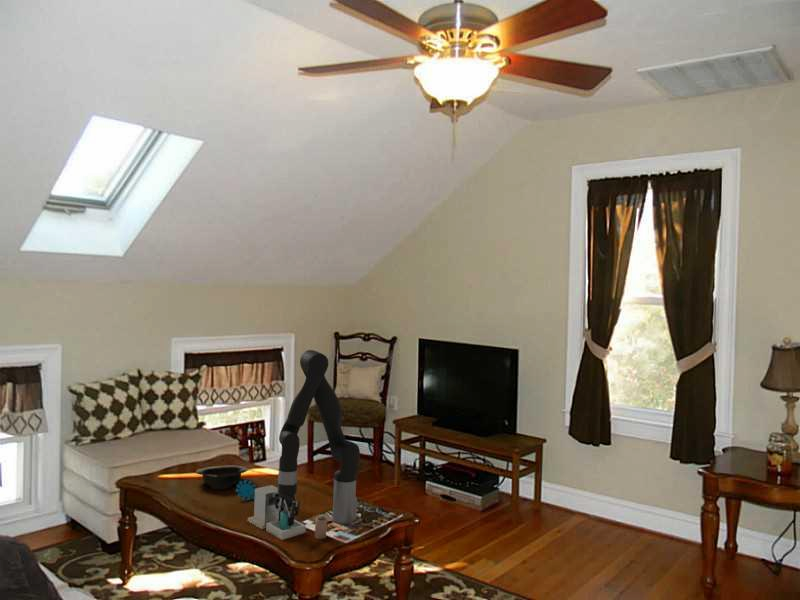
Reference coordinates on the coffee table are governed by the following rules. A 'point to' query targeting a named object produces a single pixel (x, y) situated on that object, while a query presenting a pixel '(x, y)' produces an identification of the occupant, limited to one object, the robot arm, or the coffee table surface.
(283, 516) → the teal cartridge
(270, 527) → the tray
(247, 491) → the gear
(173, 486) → the coffee table surface
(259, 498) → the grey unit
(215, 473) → the stone bowl
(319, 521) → the beige cylinder
